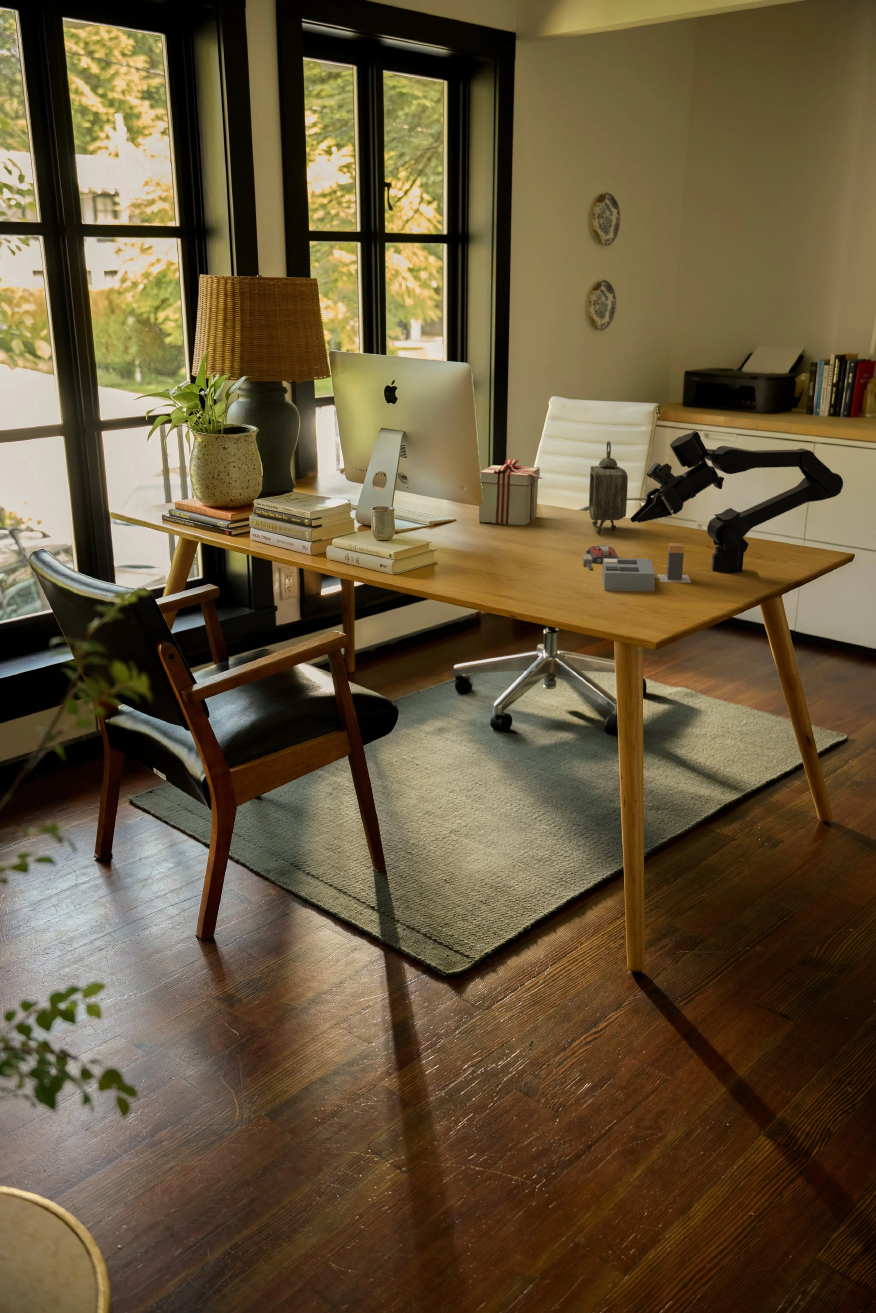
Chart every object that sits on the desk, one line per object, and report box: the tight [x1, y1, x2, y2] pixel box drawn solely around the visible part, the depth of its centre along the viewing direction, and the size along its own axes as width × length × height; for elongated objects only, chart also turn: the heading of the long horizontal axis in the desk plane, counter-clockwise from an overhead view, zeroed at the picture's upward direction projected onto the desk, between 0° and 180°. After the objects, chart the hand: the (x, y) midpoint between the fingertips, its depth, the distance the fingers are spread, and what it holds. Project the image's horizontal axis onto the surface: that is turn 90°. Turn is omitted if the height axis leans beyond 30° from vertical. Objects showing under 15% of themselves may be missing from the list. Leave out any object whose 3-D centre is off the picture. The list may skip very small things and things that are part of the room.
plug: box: [666, 542, 685, 580], centre depth 251 cm, size 3×3×8 cm
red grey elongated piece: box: [582, 544, 619, 572], centre depth 269 cm, size 9×4×20 cm
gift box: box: [478, 459, 543, 526], centre depth 320 cm, size 17×18×17 cm
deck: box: [657, 573, 692, 584], centre depth 252 cm, size 7×7×1 cm
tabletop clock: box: [588, 440, 629, 535], centre depth 303 cm, size 14×9×25 cm, turn 178°
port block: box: [601, 558, 656, 592], centre depth 248 cm, size 11×14×5 cm
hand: (634, 520), depth 253 cm, fingers open, 9 cm apart
